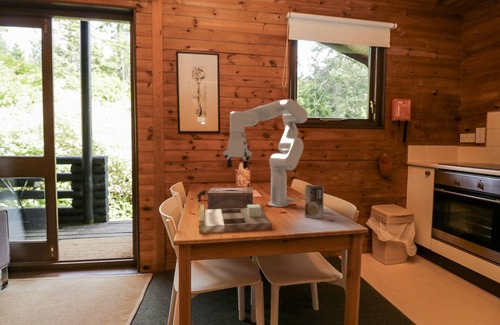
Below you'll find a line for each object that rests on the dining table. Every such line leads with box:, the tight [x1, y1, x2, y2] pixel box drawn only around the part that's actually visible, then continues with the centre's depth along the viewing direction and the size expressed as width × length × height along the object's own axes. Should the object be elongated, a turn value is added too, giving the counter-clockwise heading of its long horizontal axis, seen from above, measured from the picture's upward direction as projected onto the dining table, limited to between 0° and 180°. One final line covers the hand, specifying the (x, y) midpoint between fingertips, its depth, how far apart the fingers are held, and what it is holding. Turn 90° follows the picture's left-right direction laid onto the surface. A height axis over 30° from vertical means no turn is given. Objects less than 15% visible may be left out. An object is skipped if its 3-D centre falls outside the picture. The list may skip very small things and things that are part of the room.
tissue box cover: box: [207, 187, 254, 210], centre depth 166 cm, size 26×14×10 cm, turn 89°
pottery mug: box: [196, 188, 210, 200], centre depth 182 cm, size 12×10×8 cm
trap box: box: [198, 204, 272, 234], centre depth 136 cm, size 32×27×6 cm
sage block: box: [247, 203, 262, 217], centre depth 138 cm, size 6×6×4 cm
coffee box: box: [304, 184, 325, 219], centre depth 145 cm, size 9×6×16 cm
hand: (237, 168), depth 148 cm, fingers open, 9 cm apart
